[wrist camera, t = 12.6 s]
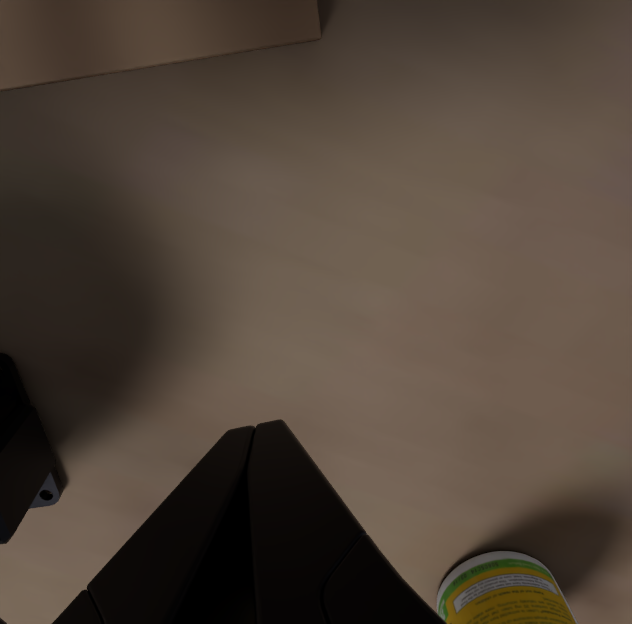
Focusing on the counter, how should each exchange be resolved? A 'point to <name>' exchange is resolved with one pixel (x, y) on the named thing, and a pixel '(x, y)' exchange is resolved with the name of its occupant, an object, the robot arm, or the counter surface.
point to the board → (138, 34)
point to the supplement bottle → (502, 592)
